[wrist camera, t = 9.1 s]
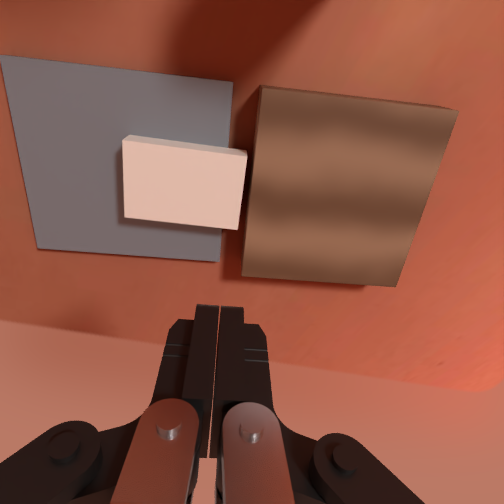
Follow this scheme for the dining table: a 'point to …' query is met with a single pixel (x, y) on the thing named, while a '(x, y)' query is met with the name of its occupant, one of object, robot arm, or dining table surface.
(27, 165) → the slate mat
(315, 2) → the dining table surface
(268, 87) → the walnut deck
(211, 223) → the cream tile
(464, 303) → the dining table surface
